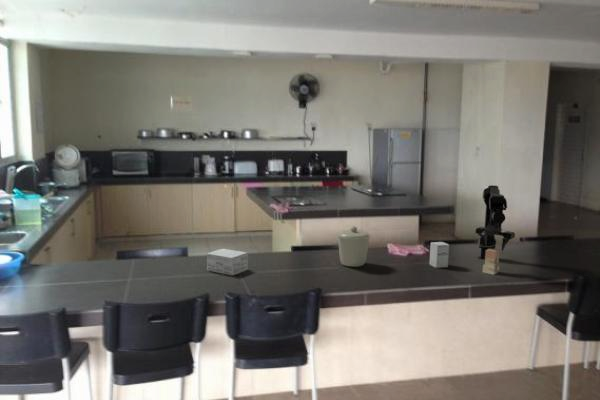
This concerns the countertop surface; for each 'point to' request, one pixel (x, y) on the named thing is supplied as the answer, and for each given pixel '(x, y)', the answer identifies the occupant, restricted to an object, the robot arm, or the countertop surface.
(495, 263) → the tower mid
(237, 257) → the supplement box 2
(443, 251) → the supplement box
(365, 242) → the canister
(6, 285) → the countertop surface
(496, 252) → the terracotta block
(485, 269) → the tower base
